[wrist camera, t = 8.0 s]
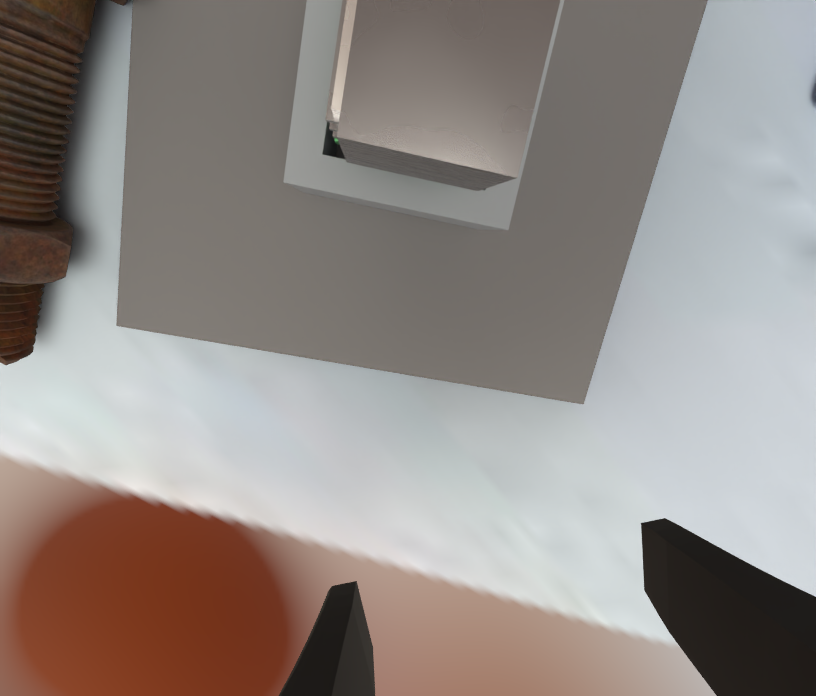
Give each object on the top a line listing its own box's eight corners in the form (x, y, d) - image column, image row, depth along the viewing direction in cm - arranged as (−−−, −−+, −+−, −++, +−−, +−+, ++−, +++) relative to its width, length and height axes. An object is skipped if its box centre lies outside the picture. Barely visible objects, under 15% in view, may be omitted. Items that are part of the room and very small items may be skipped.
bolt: (29, 322, 21) (88, -50, 17) (98, 370, 19) (181, -31, 15) (-170, 329, 16) (-145, -206, 12) (-98, 397, 14) (-44, -203, 10)
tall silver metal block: (508, 2, 14) (672, -267, 6) (463, 206, 15) (554, 186, 8) (367, -37, 13) (361, -381, 6) (334, 178, 15) (295, 127, 7)
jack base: (728, -107, 17) (885, -254, 12) (575, 397, 22) (640, 452, 16) (161, -292, 15) (44, -579, 9) (126, 322, 19) (35, 356, 14)
